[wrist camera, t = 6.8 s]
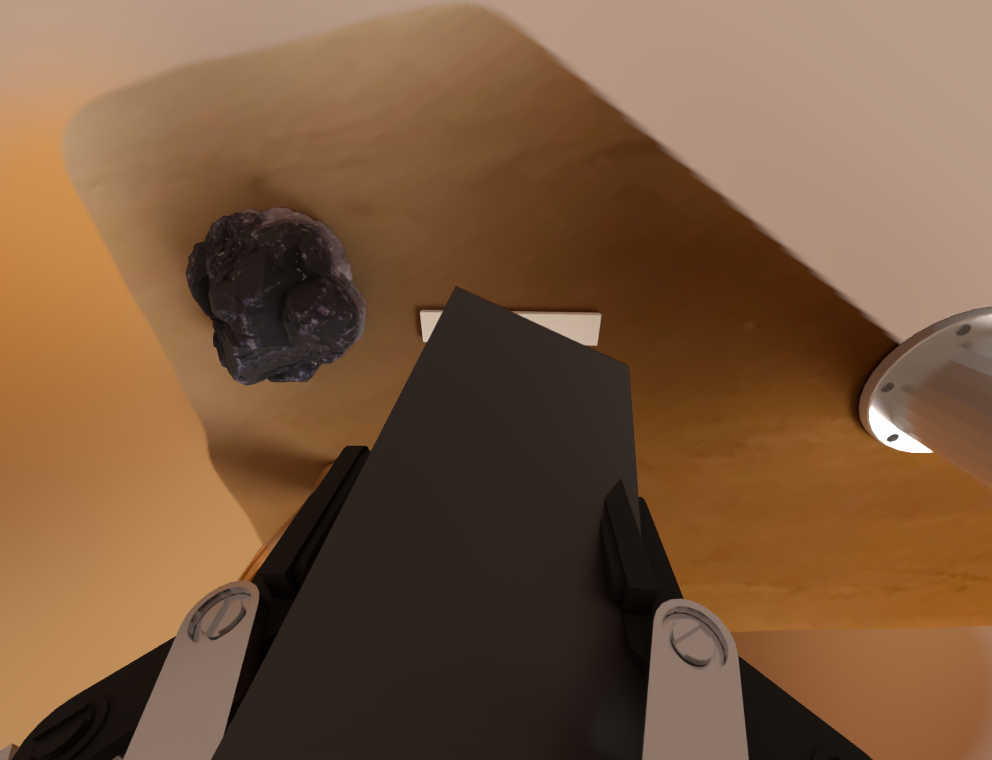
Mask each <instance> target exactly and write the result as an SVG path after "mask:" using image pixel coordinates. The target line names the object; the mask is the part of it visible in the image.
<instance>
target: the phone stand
mask: <svg viewBox="0 0 992 760" xmlns="http://www.w3.org/2000/svg"><path fill="white" fill-rule="evenodd" d="M620 479H622V482H623V485H624V488H625V491H626V494H627V497H628V500H629V503H630V506H631V508H632V511H633V514H634V517H635V520H636V523H637V526H638V529H639V532H640V535H641V525H640V511H639V497H638V484H637V470H636V456H635V442H634V429H633V415H632V401H631V387H630V373H629V366H628V365H626V364H624V363H622V362H620V361H617V360H615V359H613V358H611V357H609V356H607V355H604V354H602V353H600V352H598V351H596V350H594V349H591V348H589V347H587V346H585V345H583V344H581V343H578V342H576V341H574V340H572V339H570V338H568V337H565V336H563V335H561V334H559V333H557V332H555V331H552V330H550V329H548V328H546V327H544V326H542V325H540V324H537V323H535V322H533V321H531V320H529V319H527V318H524V317H522V316H520V315H518V314H516V313H514V312H511V311H509V310H507V309H505V308H503V307H501V306H498V305H496V304H494V303H492V302H490V301H488V300H485V299H483V298H481V297H479V296H477V295H475V294H472V293H470V292H468V291H466V290H464V289H462V288H459V287H457V286H456V287H455V288H454V290H453V292H452V294H451V296H450V298H449V300H448V302H447V304H446V306H445V308H444V310H443V312H442V314H441V316H440V318H439V320H438V322H437V324H436V326H435V327H434V329H433V331H432V333H431V335H430V337H429V339H428V341H427V343H426V345H425V347H424V349H423V351H422V353H421V355H420V357H419V359H418V361H417V363H416V365H415V366H414V368H413V370H412V372H411V374H410V376H409V378H408V380H407V382H406V384H405V386H404V388H403V390H402V392H401V394H400V396H399V398H398V400H397V402H396V404H395V405H394V407H393V409H392V411H391V413H390V415H389V417H388V419H387V421H386V423H385V425H384V427H383V429H382V431H381V433H380V435H379V437H378V439H377V441H376V443H375V444H374V446H373V448H372V450H371V452H370V454H369V456H368V458H367V460H366V462H365V464H364V466H363V468H362V470H361V472H360V474H359V476H358V478H357V480H356V482H355V484H354V485H353V487H352V489H351V491H350V493H349V495H348V497H347V499H346V501H345V503H344V505H343V507H342V509H341V511H340V513H339V515H338V517H337V519H336V521H335V523H334V524H333V526H332V528H331V530H330V532H329V534H328V536H327V538H326V540H325V542H324V544H323V546H322V548H321V550H320V552H319V554H318V556H317V558H316V560H315V562H314V563H313V565H312V567H311V569H310V571H309V573H308V575H307V577H306V579H305V581H304V583H303V585H302V587H301V589H300V591H299V593H298V595H297V597H296V599H295V601H294V602H293V604H292V606H291V608H290V610H289V612H288V614H287V616H286V618H285V620H284V622H283V624H282V626H281V628H280V630H279V632H278V634H277V636H276V638H275V640H274V641H273V643H272V645H271V647H270V649H269V651H268V653H267V655H266V657H265V659H264V661H263V663H262V665H261V667H260V669H259V670H258V672H257V674H256V676H255V678H254V680H253V682H252V684H251V686H250V688H249V689H248V691H247V693H246V695H245V697H244V699H243V701H242V703H241V705H240V706H239V708H238V710H237V712H236V714H235V716H234V718H233V720H232V721H231V723H230V725H229V727H228V729H227V731H226V733H225V734H224V736H223V738H222V740H221V742H220V744H219V746H218V747H217V749H216V751H215V753H214V755H213V757H212V758H211V760H638V751H639V740H640V728H641V717H642V706H643V695H644V684H645V678H644V676H643V675H642V673H641V672H640V671H639V669H638V668H637V666H636V665H635V663H634V662H633V660H632V659H631V658H630V656H629V653H628V646H627V639H626V633H625V626H624V620H623V613H622V606H619V605H617V604H614V603H611V598H610V591H609V583H608V576H607V569H606V561H605V554H604V547H603V539H602V532H601V525H600V521H601V520H602V518H603V517H604V516H605V515H606V513H607V507H606V501H605V497H606V495H607V494H608V493H609V492H610V491H611V489H612V488H613V487H614V486H615V485H616V483H617V482H618V481H619V480H620Z"/></svg>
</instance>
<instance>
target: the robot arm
mask: <svg viewBox="0 0 992 760" xmlns="http://www.w3.org/2000/svg"><path fill="white" fill-rule="evenodd" d="M859 415H860V420H861V422H862V424H863V426H864V428H865V430H866V431H867V432H868V433H869V434H870V435H871V436H873V437H874V438H875V439H877V440H878V441H880V442H881V443H882V444H884V445H886V446H888V447H891V448H893V449H896V450H900V451H905V452H915V453H928V452H934V453H936V454H937V455H939V456H940V457H942V458H943V459H945V460H947V461H948V462H950V463H951V464H953V465H954V466H956V467H957V468H959V469H960V470H962V471H964V472H965V473H967V474H968V475H970V476H971V477H973V478H974V479H976V480H977V481H979V482H981V483H982V484H984V485H985V486H987V487H988V488H990V489H991V490H992V307H987V308H980V309H974V310H971V311H967V312H964V313H960V314H956V315H954V316H951V317H949V318H946V319H944V320H941V321H939V322H937V323H934V324H933V325H931V326H929V327H927V328H925V329H923V330H922V331H920V332H918V333H916V334H914V335H913V336H912V337H910V338H909V339H907V340H906V341H905V342H903V343H902V344H900V345H899V346H898V347H897V348H895V349H894V350H893V351H892V352H891V353H890V354H889V355H888V356H887V357H885V358H884V360H883V361H882V362H881V363H880V364H879V365H878V367H877V368H876V369H875V370H874V371H873V373H872V374H871V376H870V378H869V379H868V381H867V382H866V384H865V386H864V389H863V392H862V394H861V397H860V403H859ZM370 452H371V451H369V449H368V447H367V446H346V447H345V448H344V449H343V451H342V452H341V453H340V455H339V456H338V458H337V459H336V461H335V462H334V464H333V465H332V467H331V468H330V470H329V471H328V473H327V474H326V475H325V477H324V478H323V480H322V481H321V483H320V484H319V486H318V487H317V489H316V490H315V491H314V492H313V493H312V494H311V495H310V496H309V497H308V499H307V500H306V501H305V503H304V504H303V506H302V507H301V509H300V510H299V512H298V513H297V515H296V516H295V517H294V519H293V520H292V522H291V523H290V525H289V526H288V528H287V529H286V531H285V532H284V533H283V535H282V536H281V538H280V539H279V541H278V542H277V544H276V545H275V547H274V548H273V549H272V551H271V552H270V554H269V555H268V557H267V558H266V560H265V561H264V562H263V564H262V565H261V567H260V568H259V570H258V571H257V573H256V574H255V576H254V577H253V578H252V580H251V581H250V582H249V581H242V580H241V581H235V582H230V583H228V584H225V585H223V586H220V587H218V588H217V589H215V590H213V591H212V592H210V593H208V594H207V595H206V596H205V597H203V598H202V599H201V600H200V601H199V602H198V603H196V605H195V606H194V607H193V608H192V609H191V610H190V612H189V613H188V614H187V615H186V617H185V619H184V620H183V622H182V624H181V626H180V628H179V630H178V633H177V635H176V636H175V637H174V638H172V639H170V640H169V641H167V642H166V643H164V644H162V645H160V646H158V647H157V648H155V649H154V650H152V651H150V652H148V653H147V654H145V655H143V656H142V657H140V658H138V659H137V660H135V661H133V662H131V663H130V664H128V665H126V666H125V667H123V668H121V669H120V670H118V671H116V672H115V673H113V674H111V675H110V676H108V677H106V678H105V679H103V680H101V681H99V682H98V683H96V684H94V685H93V686H91V687H89V688H88V689H86V690H84V691H82V692H81V693H79V694H77V695H76V696H74V697H73V698H71V699H70V700H68V701H67V702H65V703H64V704H63V705H61V706H59V707H58V708H56V709H55V710H54V711H53V712H52V713H51V714H50V715H49V716H47V717H46V718H45V719H44V720H43V721H42V722H41V723H40V724H38V725H37V727H36V728H35V729H34V730H33V731H32V732H31V733H30V734H29V735H28V737H27V738H26V739H25V740H24V741H23V743H22V744H21V746H20V747H18V746H16V745H14V744H11V745H9V746H7V747H6V748H4V749H2V750H1V751H0V760H211V758H212V757H213V755H214V753H215V751H216V749H217V747H218V746H219V744H220V742H221V740H222V738H223V736H224V734H225V733H226V731H227V729H228V727H229V725H230V723H231V721H232V720H233V718H234V716H235V714H236V712H237V710H238V708H239V706H240V705H241V703H242V701H243V699H244V697H245V695H246V693H247V691H248V689H249V688H250V686H251V684H252V682H253V680H254V678H255V676H256V674H257V672H258V670H259V669H260V667H261V665H262V663H263V661H264V659H265V657H266V655H267V653H268V651H269V649H270V647H271V645H272V643H273V641H274V640H275V638H276V636H277V634H278V632H279V630H280V628H281V626H282V624H283V622H284V620H285V618H286V616H287V614H288V612H289V610H290V608H291V606H292V604H293V602H294V601H295V599H296V597H297V595H298V593H299V591H300V589H301V587H302V585H303V583H304V581H305V579H306V577H307V575H308V573H309V571H310V569H311V567H312V565H313V563H314V562H315V560H316V558H317V556H318V554H319V552H320V550H321V548H322V546H323V544H324V542H325V540H326V538H327V536H328V534H329V532H330V530H331V528H332V526H333V524H334V523H335V521H336V519H337V517H338V515H339V513H340V511H341V509H342V507H343V505H344V503H345V501H346V499H347V497H348V495H349V493H350V491H351V489H352V487H353V485H354V484H355V482H356V480H357V478H358V476H359V474H360V472H361V470H362V468H363V466H364V464H365V462H366V460H367V458H368V456H369V454H370ZM605 501H606V507H607V513H606V515H605V516H604V517H603V518H602V520H601V521H600V525H601V532H602V539H603V547H604V554H605V561H606V569H607V576H608V583H609V591H610V598H611V603H614V604H617V605H619V606H622V613H623V620H624V626H625V633H626V639H627V646H628V653H629V656H630V658H631V659H632V660H633V662H634V663H635V665H636V666H637V668H638V669H639V671H640V672H641V673H642V675H643V676H644V678H645V684H644V695H643V706H642V717H641V728H640V740H639V751H638V760H872V759H871V758H870V757H869V756H868V755H867V754H866V753H864V752H863V751H862V750H861V749H859V748H858V747H856V746H855V745H854V744H853V743H851V742H850V741H849V740H848V739H846V738H845V737H844V736H842V735H841V734H840V733H838V732H837V731H836V730H834V729H833V728H832V727H831V726H829V725H828V724H827V723H825V722H824V721H823V720H821V719H820V718H819V717H818V716H816V715H815V714H814V713H812V712H811V711H810V710H808V709H807V708H806V707H805V706H803V705H802V704H800V703H799V702H798V701H797V700H795V699H794V698H793V697H791V696H790V695H789V694H788V693H786V692H785V691H784V690H782V689H781V688H780V687H778V686H777V685H776V684H775V683H773V682H772V681H771V680H769V679H768V678H767V677H765V676H764V675H763V674H761V673H760V672H759V671H758V670H756V669H755V668H754V667H752V666H751V665H750V664H748V663H747V662H746V661H744V660H743V659H742V658H740V657H739V656H738V652H737V649H736V645H735V641H734V639H733V637H732V636H731V634H730V632H729V630H728V628H727V627H726V626H725V625H724V624H723V623H722V621H721V620H720V619H719V618H718V617H717V616H716V615H715V614H713V613H712V612H711V611H709V610H708V609H707V608H705V607H703V606H701V605H699V604H698V603H696V602H693V601H689V600H685V599H683V596H682V594H681V591H680V588H679V586H678V583H677V581H676V578H675V576H674V573H673V571H672V568H671V565H670V563H669V560H668V558H667V555H666V553H665V550H664V548H663V545H662V542H661V540H660V537H659V535H658V532H657V530H656V527H655V524H654V522H653V519H652V517H651V514H650V512H649V509H648V507H647V504H646V502H645V500H644V499H643V498H642V497H639V511H640V525H641V535H640V532H639V529H638V526H637V523H636V520H635V517H634V514H633V511H632V508H631V506H630V503H629V500H628V497H627V494H626V491H625V488H624V485H623V482H622V479H620V480H619V481H618V482H617V483H616V485H615V486H614V487H613V488H612V489H611V491H610V492H609V493H608V494H607V495H606V497H605Z"/></svg>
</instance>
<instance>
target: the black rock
mask: <svg viewBox="0 0 992 760" xmlns="http://www.w3.org/2000/svg"><path fill="white" fill-rule="evenodd" d="M188 259H189V264H188V267H187V270H186V277H187V281H188V286H189V288H190V291H191V293H192V296H193V298H194V299H195V300H196V302H197V303H198V304H199V306H200V307H201V308H202V310H203V311H204V313H205V314H206V315H207V316H209V317H210V318H211V319H212V320H213V327H214V330H215V331H214V336H213V345H214V347H216V348H217V352H218V356H219V360H220V363H221V365H222V366H224V367H226V368H227V370H228V372H229V373H230V375H231V376H232V377H233V379H234V380H235V381H237V382H239V383H241V384H244V385H252V384H255V383H258V382H260V381H263V380H265V379H267V378H268V379H269V381H270V382H289V381H292V382H307V381H308V380H310V379H311V378H312V377H313V376H314V374H315V373H316V371H317V369H318V368H319V366H320V365H321V364H323V363H324V364H330V363H333V362H334V361H335V360H337V359H338V358H340V357H341V356H343V355H344V354H345V353H346V352H347V351H348V349H349V347H350V346H351V345H352V344H353V343H355V342H357V341H358V340H359V339H360V338H361V337H362V335H363V333H364V328H365V317H366V307H365V306H366V303H365V299H364V296H363V295H362V294H360V293H359V291H358V289H357V288H356V286H355V284H354V282H353V279H352V273H351V270H350V266H351V265H350V264H349V263H348V262H347V261H346V258H345V252H344V248H343V246H342V244H341V243H340V241H339V239H338V238H337V237H336V236H335V235H334V233H333V232H332V231H331V230H330V228H329V227H327V226H326V225H325V224H323V223H321V222H320V221H314V220H313V219H311V218H310V217H309V216H306V215H304V214H302V213H299V212H292V211H291V210H290V209H288V208H277V207H274V208H271V209H269V210H267V211H263V212H260V211H256V210H253V209H247V210H244V211H241V212H239V213H234V214H232V215H230V216H223V217H221V218H220V219H219V220H217V221H216V222H215V223H213V224H212V225H211V227H210V230H209V232H208V234H207V236H206V238H205V242H201V243H197V244H195V245H194V249H193V252H192V253H191V255H190V256H189V258H188Z"/></svg>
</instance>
